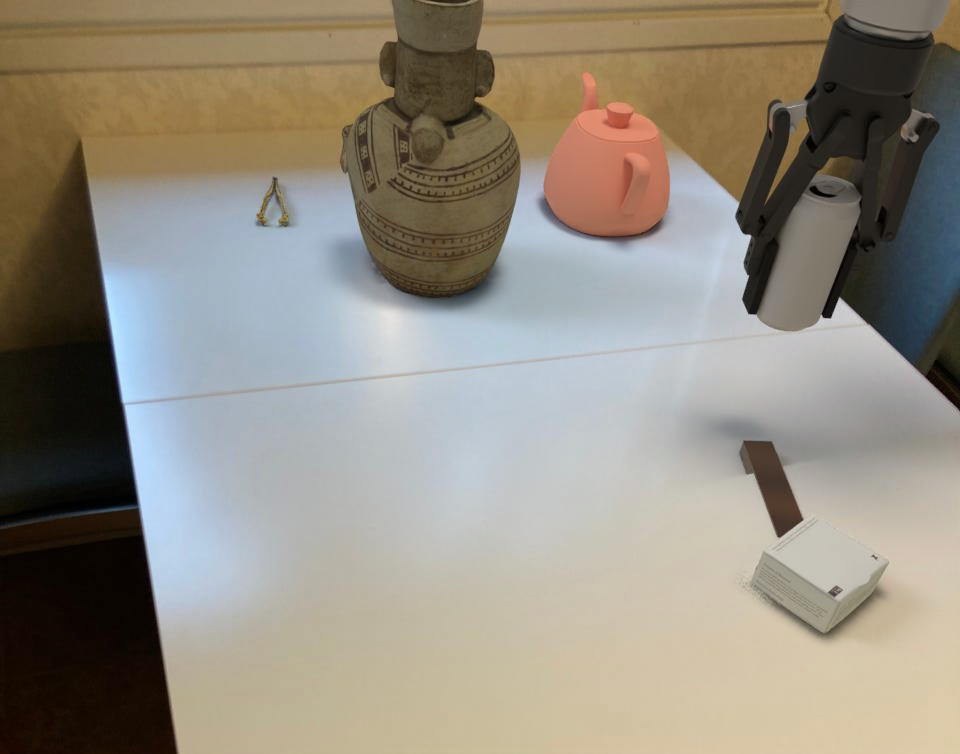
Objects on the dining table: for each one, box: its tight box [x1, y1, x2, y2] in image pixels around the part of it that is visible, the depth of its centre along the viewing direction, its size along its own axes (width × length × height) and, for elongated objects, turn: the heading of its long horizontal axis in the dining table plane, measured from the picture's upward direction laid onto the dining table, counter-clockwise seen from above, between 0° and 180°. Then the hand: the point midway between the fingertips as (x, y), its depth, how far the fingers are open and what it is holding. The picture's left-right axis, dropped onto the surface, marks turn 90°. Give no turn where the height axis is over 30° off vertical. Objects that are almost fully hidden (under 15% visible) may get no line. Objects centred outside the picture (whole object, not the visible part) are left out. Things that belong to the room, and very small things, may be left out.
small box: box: [749, 513, 890, 634], centre depth 79 cm, size 8×8×5 cm
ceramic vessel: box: [339, 0, 522, 299], centre depth 102 cm, size 19×21×30 cm
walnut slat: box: [739, 439, 804, 539], centre depth 89 cm, size 14×3×2 cm, turn 2°
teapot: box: [542, 71, 671, 237], centre depth 123 cm, size 25×17×13 cm
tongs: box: [255, 176, 290, 227], centre depth 121 cm, size 4×13×2 cm, turn 11°
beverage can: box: [756, 173, 862, 332], centre depth 83 cm, size 6×6×12 cm
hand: (786, 308), depth 86 cm, fingers closed on beverage can, 6 cm apart
